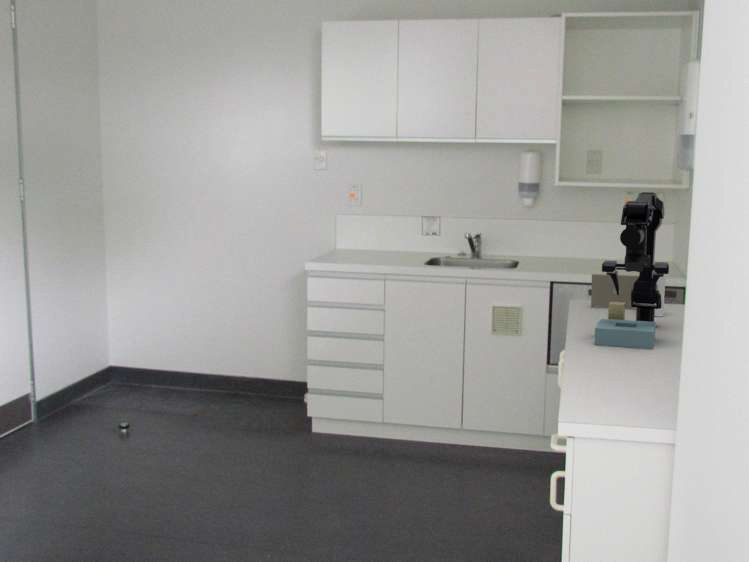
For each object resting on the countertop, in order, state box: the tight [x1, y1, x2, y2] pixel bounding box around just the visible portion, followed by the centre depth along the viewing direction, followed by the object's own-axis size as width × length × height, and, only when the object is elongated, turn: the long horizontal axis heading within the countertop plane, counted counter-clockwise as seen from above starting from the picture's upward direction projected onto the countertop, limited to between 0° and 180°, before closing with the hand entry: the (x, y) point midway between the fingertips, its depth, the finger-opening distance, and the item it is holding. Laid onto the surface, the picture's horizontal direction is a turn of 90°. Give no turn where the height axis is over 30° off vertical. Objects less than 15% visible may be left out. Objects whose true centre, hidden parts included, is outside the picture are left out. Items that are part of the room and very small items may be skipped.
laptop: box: [590, 273, 640, 311], centre depth 293 cm, size 18×12×13 cm
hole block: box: [594, 318, 657, 350], centre depth 233 cm, size 16×16×5 cm
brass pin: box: [607, 302, 626, 320], centre depth 248 cm, size 5×5×9 cm
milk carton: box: [652, 260, 666, 317], centre depth 275 cm, size 7×7×19 cm
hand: (634, 295), depth 234 cm, fingers open, 9 cm apart
